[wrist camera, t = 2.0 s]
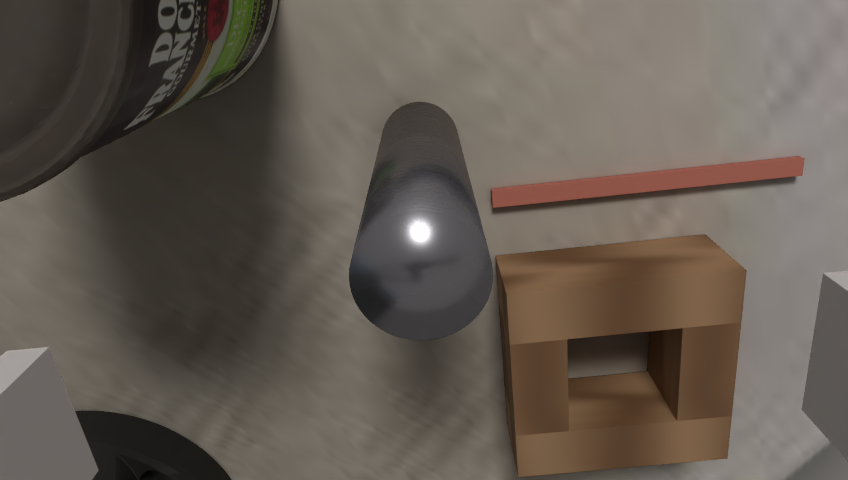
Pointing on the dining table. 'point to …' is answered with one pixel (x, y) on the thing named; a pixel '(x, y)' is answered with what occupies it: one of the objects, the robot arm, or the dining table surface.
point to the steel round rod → (420, 232)
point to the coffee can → (110, 72)
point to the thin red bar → (647, 181)
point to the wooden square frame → (610, 315)
